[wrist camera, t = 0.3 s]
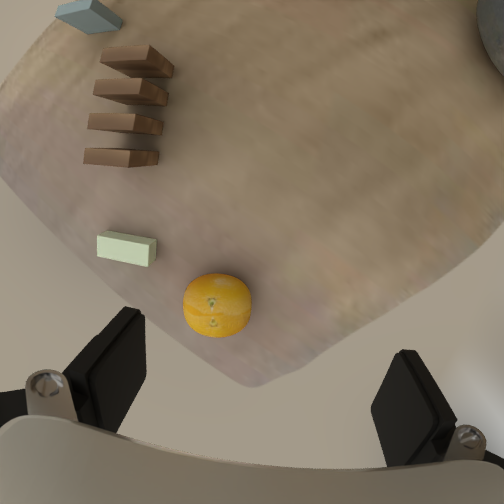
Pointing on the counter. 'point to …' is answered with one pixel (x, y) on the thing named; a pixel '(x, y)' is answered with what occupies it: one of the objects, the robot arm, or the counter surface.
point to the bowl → (492, 30)
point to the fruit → (217, 305)
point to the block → (126, 248)
